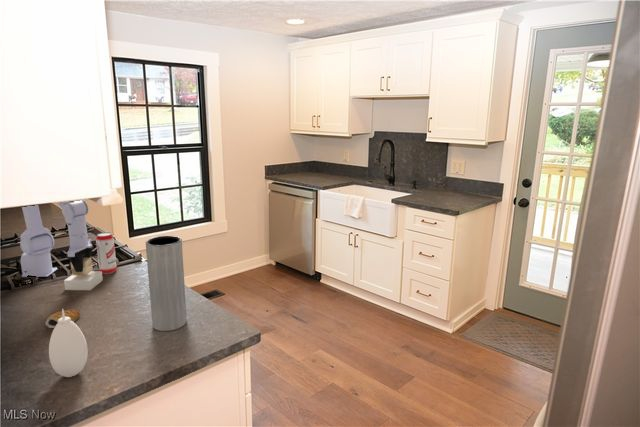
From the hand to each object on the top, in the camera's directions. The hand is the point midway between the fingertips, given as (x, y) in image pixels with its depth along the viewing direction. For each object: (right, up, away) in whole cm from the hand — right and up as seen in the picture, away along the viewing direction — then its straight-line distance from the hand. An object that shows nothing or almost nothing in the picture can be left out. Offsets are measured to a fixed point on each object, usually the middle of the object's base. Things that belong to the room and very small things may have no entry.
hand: (82, 268), depth 151 cm
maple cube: (0, -1, 0) cm, 2 cm away
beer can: (+2, -3, +14) cm, 15 cm away
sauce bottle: (+26, -20, -49) cm, 59 cm away
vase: (+41, -14, -24) cm, 50 cm away
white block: (0, -7, +2) cm, 7 cm away
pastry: (+9, -14, -25) cm, 30 cm away
